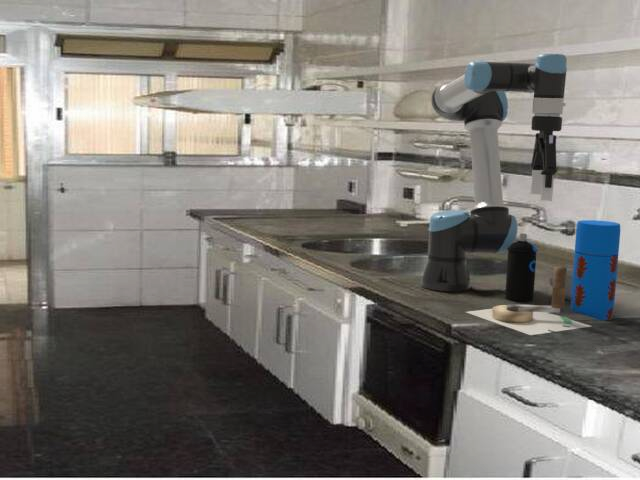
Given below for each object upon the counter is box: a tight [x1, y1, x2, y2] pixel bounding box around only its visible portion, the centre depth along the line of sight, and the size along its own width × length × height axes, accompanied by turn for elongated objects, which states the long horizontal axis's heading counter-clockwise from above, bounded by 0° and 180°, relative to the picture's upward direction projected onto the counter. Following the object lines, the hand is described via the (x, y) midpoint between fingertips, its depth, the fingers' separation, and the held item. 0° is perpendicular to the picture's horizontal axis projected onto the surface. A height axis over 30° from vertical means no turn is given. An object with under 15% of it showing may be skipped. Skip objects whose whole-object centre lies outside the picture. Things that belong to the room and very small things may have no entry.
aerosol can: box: [504, 232, 538, 303], centre depth 217 cm, size 8×8×20 cm
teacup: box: [549, 268, 573, 301], centre depth 226 cm, size 14×11×8 cm
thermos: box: [570, 219, 621, 322], centre depth 205 cm, size 11×11×25 cm
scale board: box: [465, 308, 592, 336], centre depth 196 cm, size 24×21×2 cm
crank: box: [491, 266, 568, 323], centre depth 195 cm, size 18×10×13 cm, turn 85°
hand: (540, 197), depth 204 cm, fingers open, 13 cm apart
